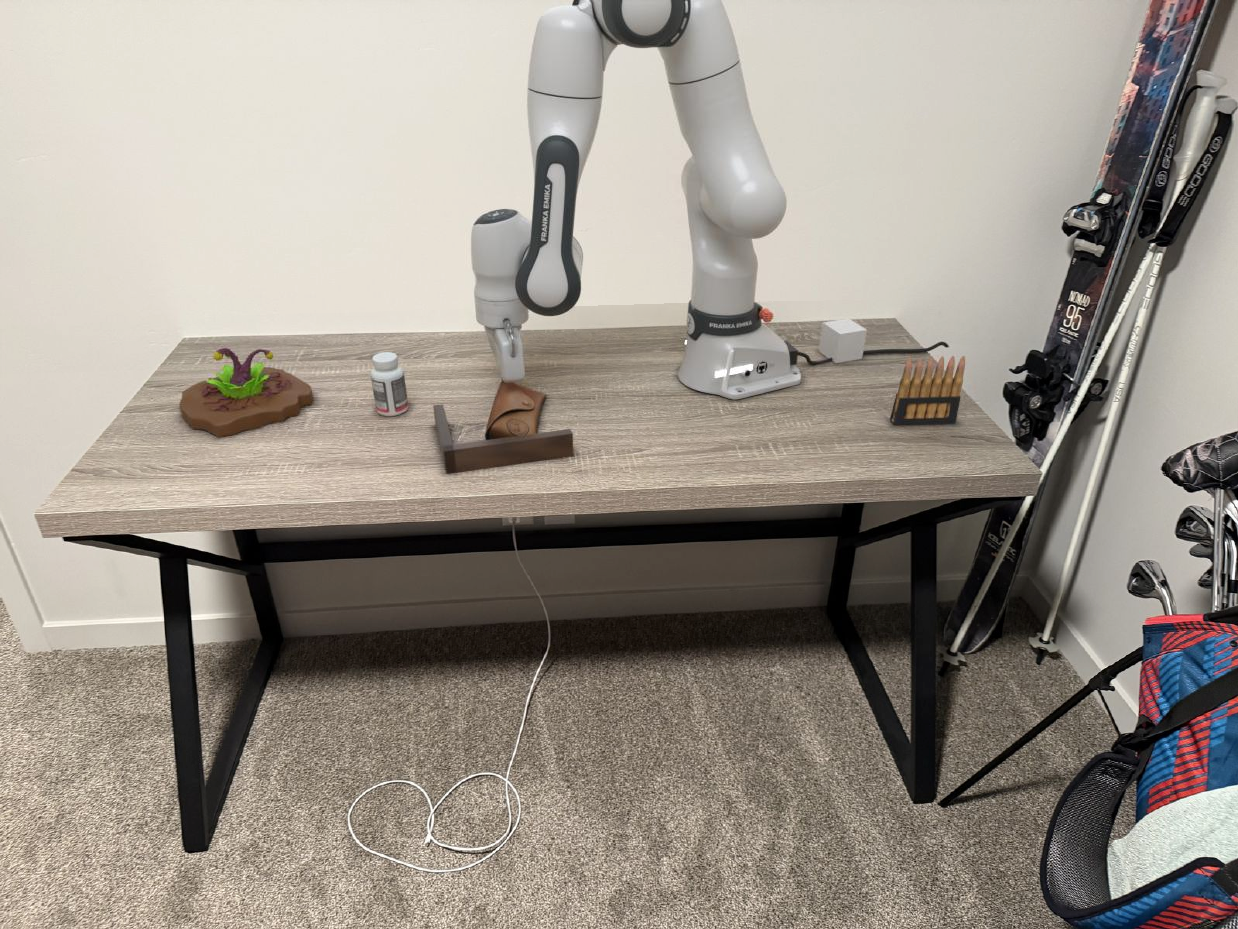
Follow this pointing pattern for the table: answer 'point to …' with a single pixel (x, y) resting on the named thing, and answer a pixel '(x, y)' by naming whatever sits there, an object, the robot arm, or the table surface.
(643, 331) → the table surface
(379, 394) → the pill bottle
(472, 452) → the bracket
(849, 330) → the white cube
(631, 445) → the table surface
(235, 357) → the plant
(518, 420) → the sunglasses case
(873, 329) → the table surface
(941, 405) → the ammunition clip
